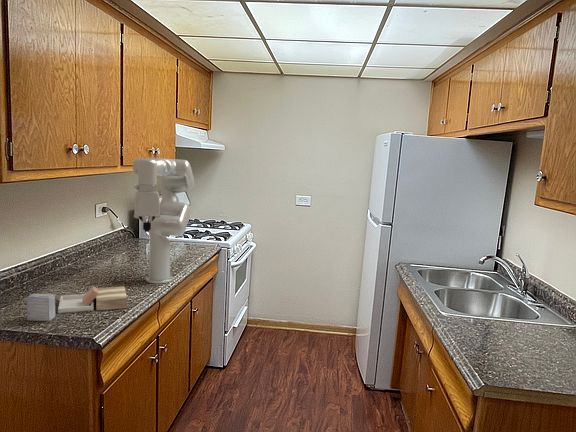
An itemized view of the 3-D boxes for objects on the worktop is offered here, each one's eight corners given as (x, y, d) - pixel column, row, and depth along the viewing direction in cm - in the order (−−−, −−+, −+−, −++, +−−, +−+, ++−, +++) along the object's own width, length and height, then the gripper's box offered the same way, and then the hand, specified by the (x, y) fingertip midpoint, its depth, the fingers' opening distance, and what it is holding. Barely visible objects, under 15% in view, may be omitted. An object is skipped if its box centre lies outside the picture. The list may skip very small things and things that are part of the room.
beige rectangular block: (96, 297, 183) (96, 288, 182) (124, 295, 187) (124, 286, 187) (96, 310, 168) (96, 300, 168) (127, 308, 173) (127, 298, 172)
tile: (87, 301, 177) (82, 297, 176) (98, 289, 178) (93, 285, 177) (87, 305, 172) (82, 302, 171) (98, 293, 173) (93, 290, 172)
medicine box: (55, 317, 160) (55, 294, 159) (49, 321, 155) (49, 297, 154) (33, 316, 159) (33, 293, 158) (26, 320, 155) (26, 297, 154)
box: (60, 300, 177) (60, 295, 177) (93, 297, 182) (93, 293, 182) (58, 313, 163) (58, 309, 163) (93, 310, 168) (93, 306, 168)
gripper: (129, 189, 180) (128, 233, 183) (166, 189, 186) (166, 232, 189) (127, 187, 187) (127, 230, 189) (164, 188, 193) (163, 229, 196)
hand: (146, 231), depth 189 cm, fingers closed
